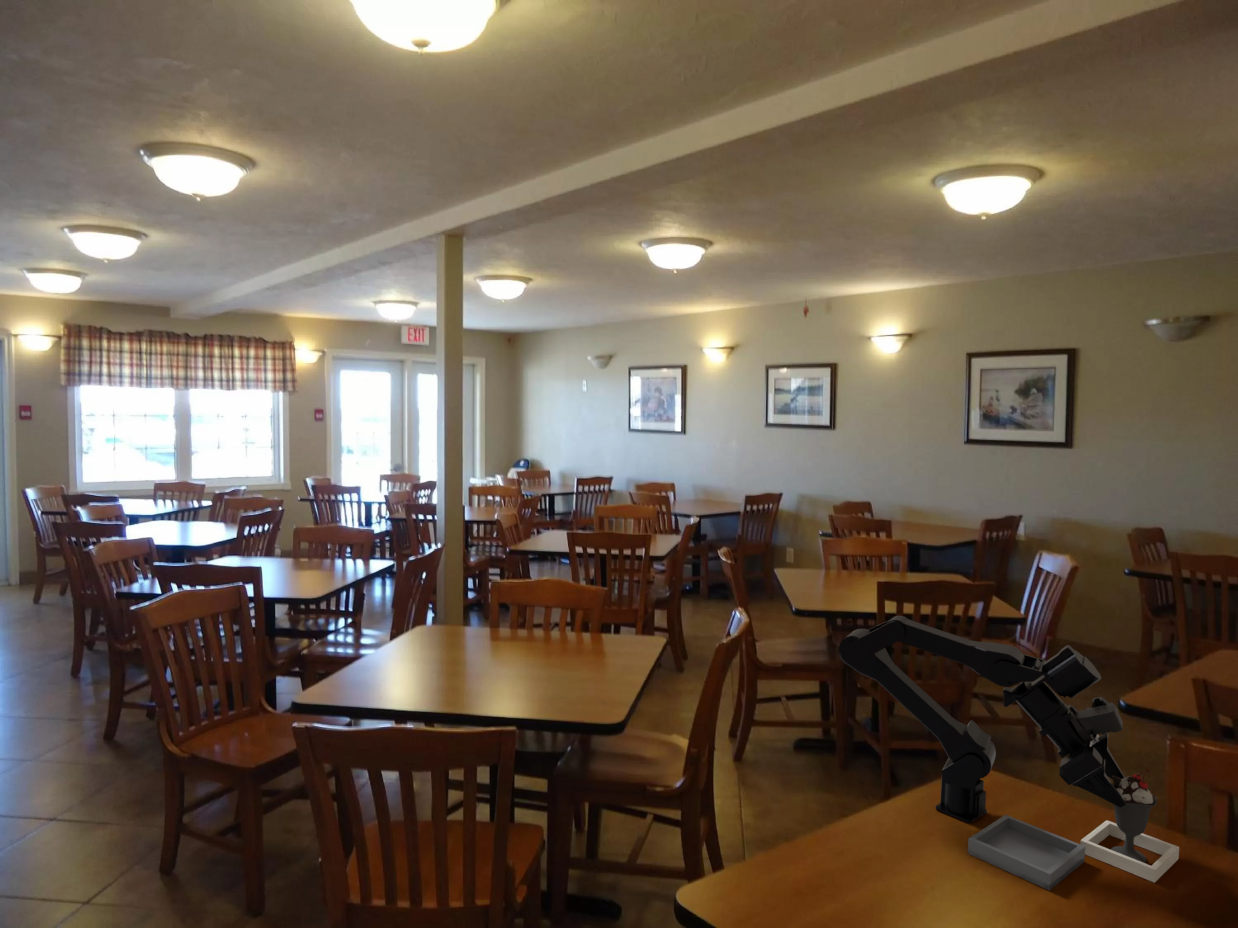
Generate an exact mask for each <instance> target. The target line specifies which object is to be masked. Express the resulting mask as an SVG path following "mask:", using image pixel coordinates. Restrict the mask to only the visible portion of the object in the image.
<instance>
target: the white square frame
mask: <svg viewBox="0 0 1238 928" xmlns="http://www.w3.org/2000/svg"><path fill="white" fill-rule="evenodd" d="M1108 836H1110V837H1111V836H1112V837H1114V838H1117V839H1119V840H1122V841H1123V842H1125V833H1124V832H1122V831H1121V830H1120V828H1119V827H1118V826H1117V824H1116V822H1113V821H1110V820H1105V821H1104V822H1103V823H1101V824H1100V825H1098V826H1097V827H1096V828H1094V830H1092V831H1091V832H1090V833H1088V834H1087V835H1085V836H1084V837H1083V838H1082V839H1080V843H1079V844H1080V845H1083V846H1085V856H1088V857H1091V858H1093V859H1096V860H1098V861H1101V862H1104V863H1106V864H1108V865H1110V866H1113V867H1115V868H1118V869H1121V870H1123V871H1125V872H1127V873H1131V874H1133V875H1135V876H1137V877H1140V878H1142V879H1145V880H1147V881H1149V882H1151V883H1154V884H1155V883H1156V882H1157V881H1158V880H1159V879H1160V878H1161V877H1163V875H1164V874H1165V873H1166V872H1168V870H1169V869H1170V868H1171V867H1173V865H1175V863H1176V862H1177V861H1178V860H1179V856H1180V846H1177V845H1175V844H1172V843H1169V842H1167V841H1164V840H1161V839H1159V838H1156V837H1154V836H1151V835H1148V834H1145V833H1144V832H1143V833H1142V834H1140V835H1138V836H1136V837H1134V846H1137V847H1139V848H1143V849H1145V850H1148V851H1150V852H1153V853H1154V854H1155V853H1156V854H1158V855H1160V857H1159V858H1158V859H1157V860H1156V861H1155V862H1154V863H1153V864H1152V865H1149V864H1148V863H1146V862H1145V863H1143V862H1140V861H1138V860H1135V859H1133V858H1130V857H1128V856H1125V855H1123V854H1120V853H1118V852H1115V851H1113V850H1111V848H1110V849H1109V848H1107V847H1105V846H1102V845H1099V844H1100V843H1101V842H1102V841H1104V840H1105V839H1106V838H1107V837H1108Z"/></svg>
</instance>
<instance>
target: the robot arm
mask: <svg viewBox="0 0 1238 928" xmlns="http://www.w3.org/2000/svg"><path fill="white" fill-rule="evenodd" d="M896 643H902V644H905V645H908V646H911V647H914V648H916V649H919V650H922V651H925V652H927V653H931V654H933V655H936V656H939V657H943V658H945V659H947V660H951V661H953V662H956V663H959V664H962V665H964V666H966V667H968V668H969V669H971V670H972V671H973V672H975V673H976V674H978V675H979V676H980V677H982V678H984V679H986V680H988V681H990V682H991V683H993V684H995V685H998V686H1000V687H1003V690H1002V693H1003V702H1002V706H1003V707H1004V708H1007V707H1009V706H1010V705H1013V703H1015V702H1016V703H1017V704H1018V705H1019V706H1020V707H1021V708H1022V710H1023V711H1024V712H1025V713H1026V714H1027V715H1028V716H1029V717H1030V718H1031V720H1033V722H1034V723H1035V724H1036V725H1037V726H1038V728H1039V730H1038V732H1039V734H1040V735H1041V736H1042V737H1045V736H1047V737H1048V739H1050V741H1051V742H1052V743H1053V745H1055V747H1057V754H1058V755H1059V756H1060V757H1061V758H1062V759H1060V760H1061V761H1060V764H1059V771H1058V772H1059V773H1058V775H1059V777H1060V778H1061V779H1062V780H1063V781H1064V782H1065V783H1066V784H1067V786H1071V785H1072V786H1073V787H1078V788H1080V789H1082V790H1085V791H1087V792H1088V793H1091V794H1093V795H1095V796H1097V797H1099V798H1101V799H1102V800H1105V801H1106V802H1108V803H1109V804H1110V803H1111V804H1112V805H1113V806H1114V805H1116V806H1118V807H1123V806H1125V805H1126V803H1125V801H1124V800H1123V798H1122V797H1121V795H1120V794H1119V792H1118V791H1117V789H1116V788H1115V786H1114V784H1113V779H1112V776H1113V775H1114V776H1117V777H1119V778H1121V779H1123V778H1125V777H1126V776H1125V774H1124V773H1123V771H1122V770H1121V768H1120V767H1119V765H1118V763H1117V761H1116V760H1115V758H1114V756H1113V755H1112V753H1111V751H1110V749H1109V745H1108V744H1109V733H1118V732H1121V731H1123V730H1124V727H1123V724H1124V722H1123V720H1122V719H1123V718H1122V717H1121V715H1120V713H1119V712H1120V711H1119V708H1118V707H1117V706H1116V704H1115V703H1114V702H1109V701H1107V700H1106V698H1104V697H1103V696H1098V697H1093V698H1092V702H1091V707H1090V706H1088V707H1086V709H1084V710H1083V709H1082V710H1078V709H1077V708H1076V707H1075V706H1074V705H1072V704H1068V705H1067V704H1066V703H1065V702H1064V701H1063V700H1062V699H1061V698H1060V697H1063V698H1066V697H1068V698H1070V699H1073V698H1075V697H1076V696H1078V695H1079V694H1081V693H1082V692H1084V691H1085V690H1087V689H1088V688H1089V687H1091V686H1092V685H1094V684H1095V683H1097V682H1099V681H1100V680H1101V679H1102V675H1101V673H1100V672H1099V671H1098V669H1097V668H1096V667H1095V665H1094V664H1093V663H1092V662H1091V661H1090V660H1089V658H1087V656H1083V655H1082V654H1081V653H1080V652H1078V651H1077V650H1075V649H1074V648H1072V646H1071V645H1070V644H1067V645H1065V646H1064V647H1063V648H1061V649H1060V650H1059V652H1057V653H1056V654H1055V655H1053V656H1052V657H1050V658H1049V659H1047V660H1046V659H1043V658H1040V657H1036V656H1032V655H1028V654H1025V653H1024V652H1023V651H1021V649H1020V648H1017V647H1015V646H1014V645H1010V644H1002V643H997V642H992V641H977V640H971V639H968V638H965V637H962V636H959V635H956V634H953V633H951V632H950V633H949V632H947V631H944V630H941V629H938V628H935V627H932V626H930V625H926V624H923V623H920V622H918V621H914V620H912V619H909V618H907V617H906V616H903V615H896V616H893V617H891V619H889V620H887V621H885V622H882V623H880V624H877V625H876V626H873V627H870V628H869V629H867V628H858V629H855V630H853V631H851V632H850V633H849V634H848V635H847V636H846V637H844V638H843V639H842V640H841V641H840V643H839V647H838V650H839V657H840V659H841V660H842V661H843V662H844V664H845V665H847V666H849V667H850V668H852V669H853V670H855V671H856V672H857V673H859V674H860V675H863V676H866V677H868V678H870V679H872V680H874V681H876V682H877V683H878V684H879V685H880V686H881V687H883V689H885V690H886V691H887V692H888V693H889V694H890V695H891V696H892V697H893V698H894V699H896V700H897V701H898V702H899V703H900V704H901V705H902V706H903V707H904V708H905V709H906V710H907V711H908V712H909V713H910V714H912V715H913V717H915V719H916V720H918V721H919V722H920V723H921V724H922V725H923V726H924V727H925V728H926V729H927V730H928V731H929V732H931V733H932V735H933V736H935V737H936V738H937V739H938V741H939V742H940V745H941V746H942V748H943V749H944V751H945V753H946V755H947V757H948V758H947V760H946V761H945V764H944V765H943V768H942V769H941V783H940V784H941V785H940V803H938V804H936V805H935V809H936V810H937V811H940V813H944V814H946V815H948V816H951V817H954V818H956V819H958V820H961V821H963V822H965V823H972V822H974V821H976V820H977V819H979V818H980V817H982V816H984V815H985V814H987V813H988V809H987V808H986V804H987V803H986V802H987V791H986V790H984V789H985V788H984V787H985V781H984V780H982V779H984V778H986V777H987V776H988V775H989V774H990V772H991V770H992V768H993V765H994V762H995V759H996V756H997V753H996V747H995V745H994V742H993V741H992V740H991V737H992V736H991V735H990V734H988V733H986V732H985V731H984V730H982V729H981V728H980V727H979V726H978V724H977V723H976V722H975V721H974V720H970V721H969V722H968V723H967V724H965V723H963V722H960V721H958V720H957V719H955V718H954V717H953V716H952V715H951V714H949V713H948V712H947V711H946V709H944V708H943V707H942V706H941V705H940V704H938V703H937V701H935V700H934V699H933V698H932V697H931V696H930V695H929V694H928V693H926V691H925V690H924V689H923V688H921V687H920V686H919V685H918V684H917V683H916V682H915V681H914V680H913V679H912V678H910V677H909V676H908V675H907V674H906V673H905V672H904V671H903V670H902V669H901V668H899V667H898V666H897V664H895V663H894V661H893V660H892V658H891V657H890V654H889V653H888V651H887V649H886V648H888V647H889V646H891V645H894V644H896ZM1013 686H1014V687H1013ZM1111 780H1112V781H1111Z"/></svg>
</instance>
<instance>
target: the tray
mask: <svg viewBox="0 0 1238 928" xmlns="http://www.w3.org/2000/svg"><path fill="white" fill-rule="evenodd" d="M967 841H968V842H967V843H968V844H967V854H968V855H970V856H973V857H974V858H977V859H979V860H981V861H982V862H983V861H984V862H986V863H988V864H990V865H992V866H994V867H996V868H999V869H1001V870H1004V871H1005V872H1008V873H1010V874H1012V875H1013V876H1016V877H1019V878H1021V879H1024V880H1025V881H1028V882H1029V883H1031V884H1034V885H1035V886H1038V887H1039V888H1043V889H1045V890H1047V891H1051V890H1052V889H1053V888H1054V887H1056V886H1057V885H1058V884H1059V883H1060V882H1061V881H1063V880H1064V879H1065V878H1067V876H1069V875H1070V874H1071V873H1072V872H1074V871H1075V870H1077V868H1079V867H1080V866H1081V865H1082V864H1084V863H1085V858H1086V854H1085V846H1083V845H1080V843H1077V842H1075V841H1072V840H1070V839H1068V838H1065V837H1062V836H1060V835H1058V834H1056V833H1053V832H1051V831H1047V830H1045V829H1043V828H1040V827H1038V826H1035V825H1034V824H1030V823H1028V822H1025V821H1023V820H1020V819H1018V818H1016V817H1013V816H1011V815H1008V814H1004V815H1003V816H1001V817H1000V818H998V819H997V820H995V821H993V822H992V823H991V824H989V825H987V826H986V827H984V828H983V829H981V830H980V831H978V832H976V833H975V834H973V835H972V836H970V837H968V840H967Z"/></svg>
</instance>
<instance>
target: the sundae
mask: <svg viewBox="0 0 1238 928" xmlns="http://www.w3.org/2000/svg"><path fill="white" fill-rule="evenodd" d="M1150 773H1152V770H1150V769H1149V768H1146V769H1145V770H1144V771H1142V772H1141V773H1139V774H1137V773H1135V774H1133V775H1132V776H1130V775H1128V776H1124V777H1125V778H1123V779H1121V778H1119V777H1117V776H1114V775H1113V776H1112V779H1113V780H1112V779H1111V780H1112V784H1113V785H1114V786H1115V788H1116V789H1117V791H1118V792H1119V794H1120V795H1121V797H1122V798H1123V800H1124V801H1125V803H1126V805H1125V806H1123V807H1118V806H1116V805H1114V804H1113V808H1114V809H1113V810H1114V819H1115V823H1116V824H1117V826H1118V827H1119V828H1120V830H1121V831H1122V832H1124V833H1125V841H1124V844H1123V846H1121V845H1118V846H1112V847H1111V848H1110V850H1113V851H1115V852H1118V853H1120V854H1123V855H1125V856H1128V857H1130V858H1133V859H1135V860H1138V861H1140V862H1143V863H1145V864H1146V862H1147V860H1148V859H1147V857H1146V856H1145V855H1144V853H1142V852H1140V851H1139V850H1136V849H1135V845H1134V837H1136V836H1138V835H1140V834H1142V833H1143V834H1144V833H1145V830H1146V828H1147V826H1148V820H1149V817H1150V812H1151V809H1152V808H1153V807H1156V806H1157V804H1158V798H1157V797H1156V795H1155V794H1153V793H1152V792H1151V791H1150V790H1149V789H1148V786H1149V784H1148V783H1147V782H1146V781H1145V776H1146V775H1147V774H1150ZM1142 774H1143V776H1141V775H1142Z"/></svg>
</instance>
